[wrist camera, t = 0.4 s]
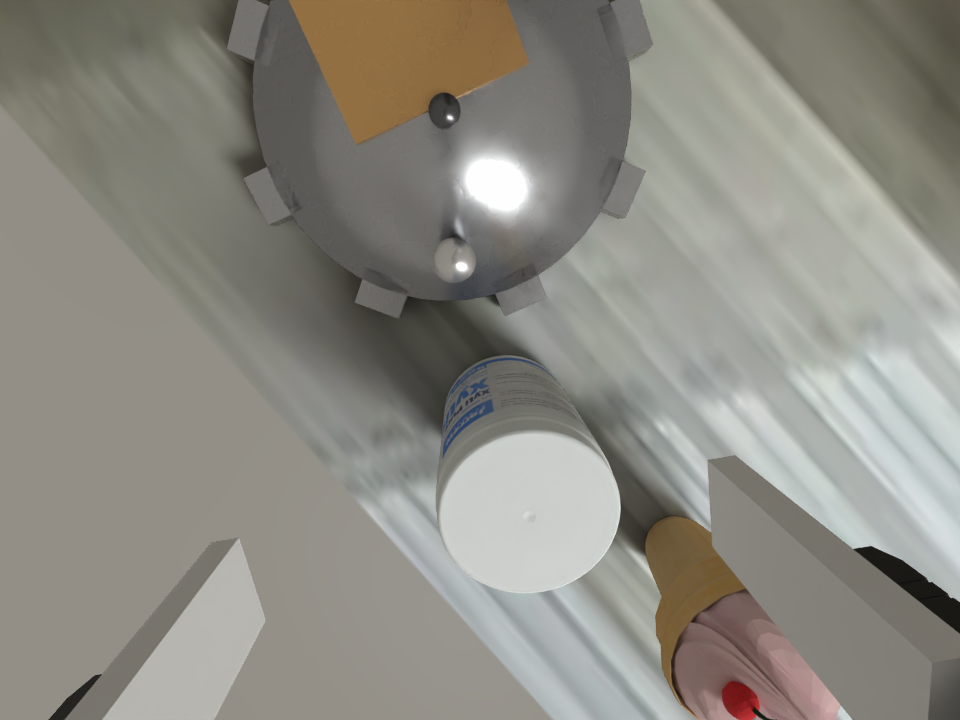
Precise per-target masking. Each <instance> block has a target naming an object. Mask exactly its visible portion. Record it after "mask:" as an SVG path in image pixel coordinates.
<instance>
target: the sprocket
mask: <svg viewBox="0 0 960 720" xmlns="http://www.w3.org/2000/svg"><path fill="white" fill-rule="evenodd" d="M652 45H653V43H652V39H651V36H650V33H649V30H648V27H647V23H646V20H645V17H644V14H643V10H642V7H641V4H640V1H639V0H615V1H613V2H611V3H610V2H609V0H271V1H270V4H269V6H268V5H266V4H264V3H261V2H259V1H257V0H239V1H238V5H237V9H236V13H235V17H234V21H233V25H232V29H231V33H230V38H229V42H228V46H227V50H229V51H230V52H231V53H232V54H233V55H235V56H236V57H237V58H238V59H241V60H243V61H245V62H248V63H250V64H253V65H254V71H253V108H254V115H255V122H256V129H257V135H258V139H259V142H260V146H261V150H262V154H263V158H264V161H265V163H266V166H267V167H266V168H264V169H262V170H260V171H257V172H255V173H253V174H251V175H249V176H247V177H245V178H243V179H244V180H245V182H246V184H247V186H248V188H249V190H250V192H251V194H252V196H253V198H254V199H255V201H256V203H257V205H258V207H259V209H260V211H261V213H262V215H263V216H264V218H265V220H266V222H267V224H268V225H272V226H278V225H280V224H282V223H284V222H286V221H288V220H291V219H293V218H294V219H295V220H296V222H297V223H298V224H299V226H300V227H301V228H302V230H303V231H304V232H305V233H306V234H307V235H308V236H309V237H310V238H311V239H312V241H313V242H314V243H315V244H316V245H317V246H318V247H319V248H320V249H321V250H323V251H324V252H325V253H326V254H327V255H328V256H329V257H331V258H332V259H333V260H334V261H335V262H336V263H338V264H339V265H341V266H342V267H344V268H345V269H347V270H348V271H350V272H351V273H353V274H354V275H356V276H358V277H360V278H362V282H361V285H360V288H359V291H358V294H357V297H356V300H355V303H357V304H360V305H363V306H365V307H368V308H371V309H373V310H376V311H379V312H381V313H384V314H387V315H390V316H392V317H395V318H398V319H399V318H400V317H401V315H402V313H403V310H404V307H405V304H406V301H407V299H408V296H410V297H415V298H419V299H428V300H440V301H451V300H468V299H473V298H479V297H485V296H489V295H493V294H495V295H496V297H497V300H498V302H499V304H500V307H501V309H502V311H503V313H504V315H505V316H507V315H509V314H511V313H513V312H516V311H518V310H520V309H522V308H525V307H527V306H529V305H532V304H534V303H536V302H538V301H541V300H543V299H545V298H547V296H546V294H545V291H544V289H543V286H542V284H541V281H540V279H539V276H538V274H540V273H541V272H543V271H544V270H546V269H548V268H549V267H551V266H552V265H553V264H554V263H555V262H557V261H558V260H559V259H560V258H561V257H563V256H564V255H565V254H566V253H567V252H569V250H570V249H571V248H572V247H573V246H574V245H575V244H576V243H577V242H578V241H579V240H580V239H581V238H582V236H583V235H584V234H585V233H586V232H587V230H588V229H589V227H590V226H591V225H592V223H593V222H594V221H595V219H596V218H597V216H598V215H599V213H600V211H601V212H603V213H606V214H608V215H610V216H613V217H615V218H617V219H620V218H625V217H626V215H627V213H628V211H629V208H630V206H631V204H632V202H633V199H634V197H635V195H636V192H637V190H638V188H639V186H640V183H641V181H642V179H643V176H644V174H645V172H646V171H645V170H643V169H640V168H638V167H636V166H633V165H631V164H629V163H627V162H624V161H623V157H624V154H625V150H626V146H627V141H628V134H629V127H630V120H631V81H630V70H629V62H628V61H630V60H632V59H634V58H636V57H639V56H641V55H643V54H644V53H645V52H646V51H647V50H648V49H649V48H650V47H651V46H652Z"/></svg>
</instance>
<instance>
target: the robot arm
mask: <svg viewBox="0 0 960 720" xmlns="http://www.w3.org/2000/svg"><path fill="white" fill-rule="evenodd" d="M708 478H709V496H710V514H711V533H712V547H713V548H714V549H715V551H716V552H717V553H718V554H719V556H720V557H721V558H722V559H723V560H724V562H725V563H726V564H727V565H728V567H729V568H730V569H731V570H732V572H733V573H734V574H735V575H736V576H737V578H738V579H739V580H740V581H741V583H742V584H743V585H744V586H745V588H746V589H747V590H748V591H749V592H750V594H751V595H752V596H753V597H754V599H755V600H756V601H757V602H758V604H759V605H760V606H761V607H762V609H763V610H764V611H765V612H766V613H767V615H768V616H769V617H770V618H771V620H772V621H773V622H774V623H775V625H776V626H777V627H778V628H779V629H780V631H781V632H782V633H783V634H784V636H785V637H786V638H787V639H788V641H789V642H790V643H791V644H792V645H793V647H794V648H795V649H796V650H797V652H798V653H799V654H800V655H801V657H802V658H803V659H804V660H805V662H806V663H807V664H808V665H809V666H810V668H811V669H812V670H813V671H814V673H815V674H816V675H817V676H818V678H819V679H820V680H821V681H822V682H823V684H824V685H825V686H826V687H827V689H828V690H829V691H830V692H831V694H832V695H833V696H834V697H835V698H836V700H837V701H838V702H839V703H840V705H841V706H842V707H843V708H844V710H845V711H846V712H847V713H848V715H849V716H850V717H851V718H852V719H853V720H960V602H959V601H957V600H956V599H954V598H950V597H949V596H948V593H946V592H945V591H943V590H942V589H941V588H939V587H938V586H937V585H935V584H934V583H933V582H928V580H927V578H926V577H924V576H923V575H922V574H920V573H919V572H917V571H916V570H915V569H913V568H912V567H911V566H909V565H908V564H907V563H905V562H904V561H902V560H901V559H898V558H896V557H894V556H892V555H889V554H887V553H885V552H883V551H881V550H878V549H876V548H874V547H872V546H869V547H863V548H857V549H852V548H851V547H850V546H848V545H847V544H846V543H845V542H843V541H842V540H841V539H840V538H838V537H837V536H836V535H835V534H833V533H832V532H831V531H830V530H828V529H827V528H826V527H825V526H823V525H822V524H821V523H819V522H818V521H817V520H816V519H814V518H813V517H812V516H811V515H809V514H808V513H807V512H806V511H804V510H803V509H802V508H801V507H799V506H798V505H797V504H796V503H794V502H793V501H792V500H791V499H789V498H788V497H787V496H785V495H784V494H783V493H782V492H780V491H779V490H778V489H777V488H775V487H774V486H773V485H772V484H770V483H769V482H768V481H767V480H765V479H764V478H763V477H762V476H760V475H759V474H758V473H757V472H755V471H754V470H753V469H752V468H750V467H749V466H748V465H746V464H745V463H744V462H743V461H741V460H740V459H739V458H738V457H736V456H729V457H723V458H717V459H711V460H708ZM264 622H265V617H264V614H263V611H262V608H261V605H260V601H259V598H258V595H257V592H256V589H255V586H254V583H253V580H252V577H251V574H250V571H249V568H248V564H247V561H246V558H245V555H244V552H243V549H242V546H241V543H240V540H239V538H235V539H228V540H222V541H216V542H212V543H211V544H210V545H209V546H208V547H207V549H206V550H205V551H204V552H203V553H202V555H201V556H200V557H199V558H198V559H197V561H196V562H195V563H194V564H193V565H192V567H191V568H190V569H189V570H188V571H187V573H186V574H185V575H184V576H183V578H182V579H181V580H180V581H179V583H178V584H177V585H176V586H175V587H174V588H173V590H172V591H171V592H170V593H169V594H168V596H167V597H166V598H165V599H164V601H163V602H162V603H161V604H160V606H158V608H157V609H156V610H155V611H154V613H153V614H152V615H151V616H150V617H149V619H148V620H147V621H146V622H145V623H144V625H143V626H142V627H141V628H140V629H139V631H138V632H137V633H136V634H135V635H134V637H133V638H132V639H131V640H130V641H129V643H128V644H127V645H126V646H125V647H124V649H123V650H122V651H121V652H120V653H119V655H118V656H117V657H116V658H115V659H114V661H113V662H112V663H111V664H110V666H109V667H108V668H107V669H106V671H105V672H104V673H103V674H100V675H95V676H94V677H92V678H91V679H90V680H89V681H88V682H86V683H85V684H84V685H83V686H82V687H80V688H79V689H78V690H77V691H76V692H74V693H73V694H72V695H71V696H70V697H68V698H67V699H66V700H65V701H64V703H63V704H62V705H61V706H60V707H59V708H58V709H57V711H56V712H55V713H54V714H53V715H52V716H51V718H50V719H49V720H214V719H215V717H216V715H217V713H218V711H219V709H220V707H221V705H222V703H223V701H224V699H225V697H226V696H227V694H228V692H229V690H230V688H231V686H232V684H233V682H234V680H235V678H236V676H237V674H238V672H239V670H240V669H241V667H242V665H243V663H244V661H245V659H246V657H247V655H248V653H249V651H250V649H251V647H252V645H253V643H254V642H255V640H256V637H257V636H258V634H259V632H260V630H261V628H262V626H263V624H264Z"/></svg>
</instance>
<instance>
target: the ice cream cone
mask: <svg viewBox="0 0 960 720" xmlns="http://www.w3.org/2000/svg"><path fill="white" fill-rule="evenodd" d="M645 553H646V558H647V561H648V564H649V567H650V570H651V572H652V575H653V577H654V579H655V582H656V584H657V587H658V589H659V591H660V594H661V596H662V597H661V600H660V603H659V607H658V610H657V613H656V616H655V617H656V636H657V638H658V640H659V642H660V644H661V661H662V670H663V673H664V676H665V678H666V680H667V682H668V684H669V686H670V688H671V690H672V692H673V694H674V696H675V698H676V699H677V701H678V702H679V704H680V705H681V706H682V707H683V708H685V709H686V710H687V711H688V712H689V713H690V714H692V715H693V716H694V717H695V718H696V719H698V720H836V719H837V713H838V710H839V708H840V706H841V705H840V703H839V702H838V701H837V700H836V698H835V697H834V696H833V695H832V694H831V692H830V691H829V690H828V689H827V687H826V686H825V685H824V684H823V682H822V681H821V680H820V679H819V678H818V676H817V675H816V674H815V673H814V671H813V670H812V669H811V668H810V666H809V665H808V664H807V663H806V662H805V660H804V659H803V658H802V657H801V655H800V654H799V653H798V652H797V650H796V649H795V648H794V647H793V645H792V644H791V643H790V642H789V641H788V639H787V638H786V637H785V636H784V634H783V633H782V632H781V631H780V629H779V628H778V627H777V626H776V625H775V623H774V622H773V621H772V620H771V618H770V617H769V616H768V615H767V613H766V612H765V611H764V610H763V609H762V607H761V606H760V605H759V604H758V602H757V601H756V600H755V599H754V597H753V596H752V595H751V594H750V592H749V591H748V590H747V589H746V588H745V586H744V585H743V584H742V583H741V581H740V580H739V579H738V578H737V576H736V575H735V574H734V573H733V572H732V570H731V569H730V568H729V567H728V565H727V564H726V563H725V562H724V560H723V559H722V558H721V557H720V556H719V554H718V553H717V552H716V551H715V549H714V548H713V547H712V533H711V532H709V531H708V530H707V529H705V528H704V527H703V526H701V525H700V524H698V523H697V522H696V521H694V520H691V519H687V518H683V517H679V516H669V517H666V518H663V519H660V520H659V521H658V522H656V523H655V524H654V525H653V526H652V527H651V529H650V530H649V532H648V535H647V538H646V544H645Z"/></svg>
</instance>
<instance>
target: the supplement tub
mask: <svg viewBox="0 0 960 720" xmlns="http://www.w3.org/2000/svg"><path fill="white" fill-rule="evenodd" d="M620 510H621V506H620V495H619V490H618V486H617V483H616V480H615V478H614V476H613V473H612V470H611V467H610V465H609V463H608V461H607V459H606V457H605V455H604V453H603V452H602V450H601V448H600V447H599V445H598V443H597V442H596V440H595V439H594V437H593V436H592V434H591V432H590V431H589V429H588V428H587V426H586V425H585V423H584V422H583V420H582V418H581V417H580V415H579V414H578V412H577V411H576V409H575V407H574V406H573V404H572V403H571V401H570V400H569V398H568V396H567V395H566V393H565V391H564V390H563V389H562V387H561V385H560V384H559V383H558V381H557V380H556V378H555V377H554V376H553V375H552V374H551V373H550V372H549V371H548V370H547V369H546V368H544V367H543V366H541V365H540V364H538V363H537V362H535V361H532V360H530V359H527V358H524V357H520V356H513V355H502V356H495V357H490V358H487V359H484V360H481V361H479V362H477V363H475V364H474V365H472V366H470V367H469V368H468V369H466V370H465V371H464V372H463V373H462V374H461V375H460V376H459V377H458V379H457V380H456V381H455V382H454V384H453V386H452V387H451V389H450V391H449V394H448V396H447V399H446V404H445V410H444V419H443V429H442V440H441V449H440V459H439V468H438V476H437V487H436V511H437V520H438V528H439V532H440V536H441V539H442V541H443V544H444V546H445V548H446V550H447V552H448V553H449V555H450V557H451V558H452V559H453V560H454V562H455V563H456V564H457V565H458V566H459V567H460V568H461V569H462V570H463V571H464V572H465V573H467V574H468V575H469V576H471V577H472V578H474V579H475V580H477V581H479V582H481V583H482V584H485V585H487V586H489V587H492V588H495V589H499V590H503V591H507V592H514V593H536V592H543V591H548V590H551V589H555V588H558V587H561V586H564V585H566V584H568V583H570V582H572V581H574V580H576V579H578V578H579V577H581V576H582V575H584V574H585V573H587V572H588V571H589V570H590V569H591V568H592V567H594V566H595V565H596V563H598V562H599V560H600V559H601V558H602V557H603V556H604V554H605V553H606V551H607V550H608V548H609V547H610V545H611V543H612V541H613V539H614V536H615V534H616V532H617V528H618V525H619V519H620Z"/></svg>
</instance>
